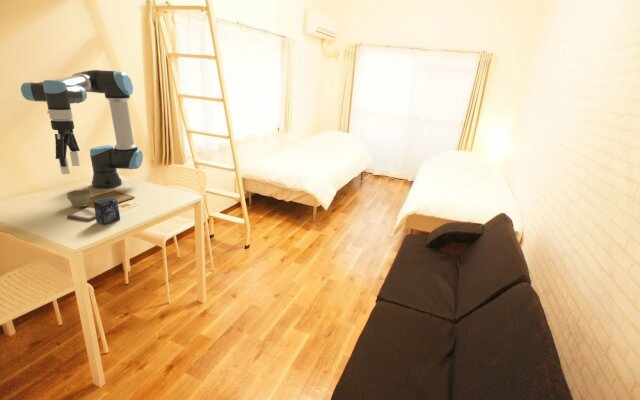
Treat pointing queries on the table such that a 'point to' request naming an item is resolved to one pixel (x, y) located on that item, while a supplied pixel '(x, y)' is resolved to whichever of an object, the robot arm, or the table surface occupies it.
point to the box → (106, 210)
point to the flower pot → (79, 197)
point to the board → (83, 214)
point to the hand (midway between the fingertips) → (71, 169)
